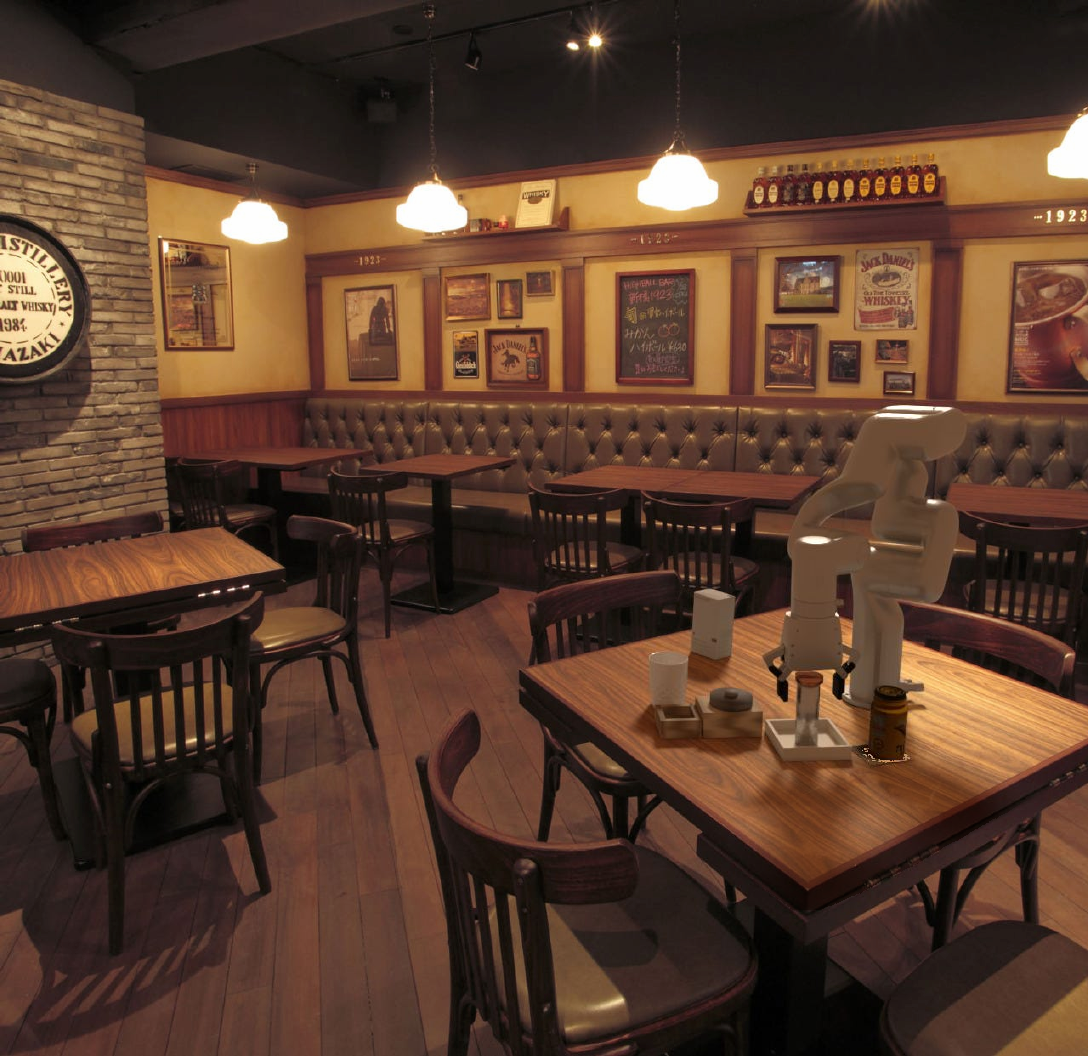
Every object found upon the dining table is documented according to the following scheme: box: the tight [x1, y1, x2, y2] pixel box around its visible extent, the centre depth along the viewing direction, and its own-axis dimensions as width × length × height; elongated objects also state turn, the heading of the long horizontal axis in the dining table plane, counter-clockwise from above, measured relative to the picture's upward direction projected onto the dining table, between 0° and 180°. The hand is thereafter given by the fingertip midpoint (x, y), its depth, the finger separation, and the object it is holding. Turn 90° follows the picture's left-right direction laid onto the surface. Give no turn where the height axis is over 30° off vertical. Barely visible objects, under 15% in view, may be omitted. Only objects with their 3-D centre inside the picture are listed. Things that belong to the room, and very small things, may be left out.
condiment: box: [851, 685, 916, 766], centre depth 152 cm, size 7×8×12 cm
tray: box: [764, 717, 853, 762], centre depth 157 cm, size 12×12×2 cm
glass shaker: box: [794, 671, 824, 746], centre depth 155 cm, size 5×5×13 cm
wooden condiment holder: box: [654, 686, 764, 740], centre depth 164 cm, size 19×8×7 cm, turn 91°
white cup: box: [648, 650, 689, 708], centre depth 175 cm, size 8×8×10 cm
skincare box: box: [690, 588, 736, 661], centre depth 204 cm, size 8×6×15 cm
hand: (810, 698), depth 156 cm, fingers open, 9 cm apart
